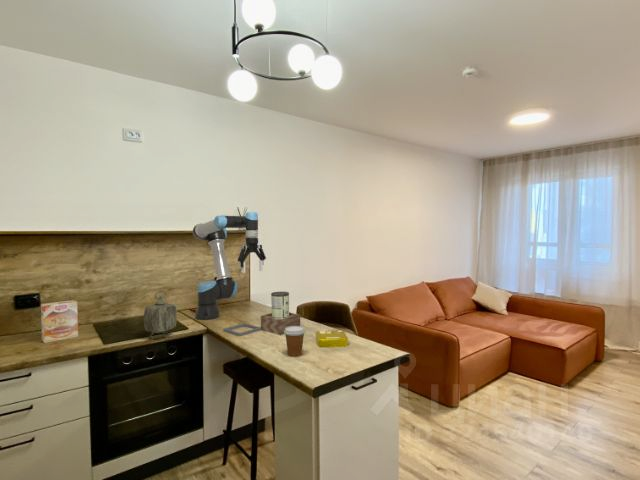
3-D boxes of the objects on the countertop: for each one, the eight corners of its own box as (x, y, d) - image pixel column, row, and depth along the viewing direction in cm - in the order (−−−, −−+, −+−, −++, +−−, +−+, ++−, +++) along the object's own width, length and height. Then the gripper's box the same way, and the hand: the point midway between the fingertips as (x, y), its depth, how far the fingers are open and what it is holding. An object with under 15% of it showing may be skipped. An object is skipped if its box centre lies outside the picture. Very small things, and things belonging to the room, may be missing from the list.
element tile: (318, 348, 171) (318, 338, 171) (315, 339, 186) (315, 330, 186) (348, 347, 173) (348, 337, 173) (343, 337, 188) (343, 329, 188)
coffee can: (273, 315, 209) (273, 291, 208) (290, 315, 208) (290, 291, 207) (269, 319, 198) (269, 294, 198) (287, 319, 197) (287, 294, 197)
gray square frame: (223, 331, 200) (223, 328, 200) (244, 325, 212) (244, 323, 212) (239, 336, 190) (239, 333, 190) (260, 330, 202) (260, 327, 202)
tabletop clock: (167, 332, 199) (166, 288, 198) (178, 334, 194) (177, 289, 194) (144, 339, 186) (143, 292, 185) (155, 342, 182) (154, 294, 181)
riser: (261, 329, 203) (260, 315, 202) (281, 324, 215) (281, 310, 214) (280, 335, 192) (279, 320, 192) (300, 328, 204) (300, 314, 204)
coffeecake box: (44, 343, 181) (43, 305, 180) (41, 340, 186) (40, 303, 185) (78, 336, 192) (77, 301, 191) (75, 334, 197) (74, 299, 196)
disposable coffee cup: (284, 351, 167) (284, 326, 166) (304, 350, 168) (304, 325, 167) (284, 358, 157) (284, 331, 157) (305, 357, 158) (305, 331, 158)
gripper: (238, 237, 205) (239, 274, 205) (271, 237, 224) (271, 270, 224) (231, 237, 210) (231, 273, 210) (263, 236, 229) (263, 269, 229)
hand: (252, 271), depth 217 cm, fingers open, 13 cm apart
